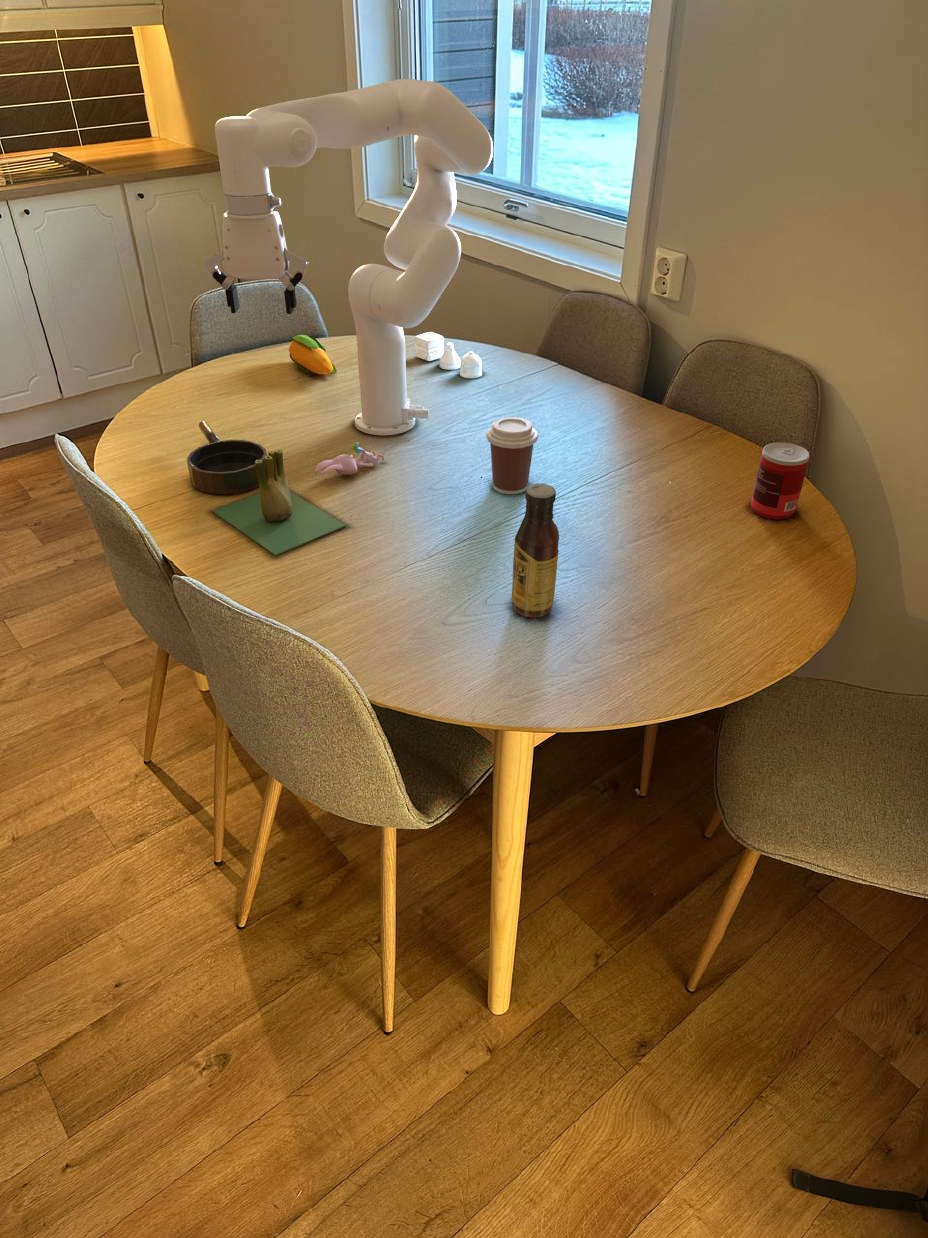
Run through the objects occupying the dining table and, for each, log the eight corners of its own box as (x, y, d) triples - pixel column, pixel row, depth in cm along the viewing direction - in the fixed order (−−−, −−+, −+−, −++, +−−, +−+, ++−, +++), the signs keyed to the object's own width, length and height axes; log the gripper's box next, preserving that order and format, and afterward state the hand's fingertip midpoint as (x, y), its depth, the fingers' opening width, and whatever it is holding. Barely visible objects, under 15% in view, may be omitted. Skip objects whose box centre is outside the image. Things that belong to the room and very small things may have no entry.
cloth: (345, 526, 148) (345, 525, 148) (275, 556, 141) (275, 554, 140) (280, 486, 160) (280, 485, 160) (212, 511, 152) (211, 510, 152)
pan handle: (223, 449, 166) (222, 441, 165) (214, 451, 166) (212, 443, 165) (207, 427, 175) (206, 418, 174) (198, 429, 174) (196, 420, 173)
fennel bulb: (265, 527, 147) (255, 462, 140) (257, 515, 151) (247, 450, 144) (298, 519, 150) (290, 455, 142) (289, 507, 153) (281, 444, 146)
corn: (307, 324, 212) (344, 348, 198) (312, 355, 216) (348, 380, 203) (278, 332, 209) (314, 356, 195) (284, 363, 213) (320, 388, 200)
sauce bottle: (508, 597, 131) (513, 477, 120) (549, 595, 132) (558, 475, 120) (514, 622, 126) (520, 500, 114) (557, 620, 126) (567, 498, 115)
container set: (415, 357, 216) (414, 335, 212) (431, 352, 218) (430, 330, 215) (470, 379, 204) (470, 356, 200) (486, 374, 207) (487, 351, 203)
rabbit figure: (368, 462, 171) (306, 475, 161) (370, 432, 168) (307, 444, 158) (389, 472, 168) (328, 486, 158) (392, 442, 165) (330, 455, 155)
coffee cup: (542, 480, 162) (546, 419, 155) (524, 501, 156) (527, 438, 149) (497, 471, 165) (498, 410, 158) (477, 491, 159) (478, 429, 152)
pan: (276, 461, 168) (273, 440, 166) (260, 496, 157) (256, 474, 154) (203, 460, 169) (199, 438, 166) (181, 495, 157) (177, 472, 155)
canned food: (796, 502, 156) (810, 445, 149) (794, 523, 150) (809, 465, 143) (751, 495, 158) (764, 439, 151) (748, 516, 152) (761, 458, 145)
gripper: (306, 200, 145) (316, 305, 155) (202, 199, 146) (219, 304, 156) (297, 209, 139) (308, 318, 149) (189, 208, 140) (208, 317, 150)
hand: (263, 311), depth 152 cm, fingers open, 9 cm apart
